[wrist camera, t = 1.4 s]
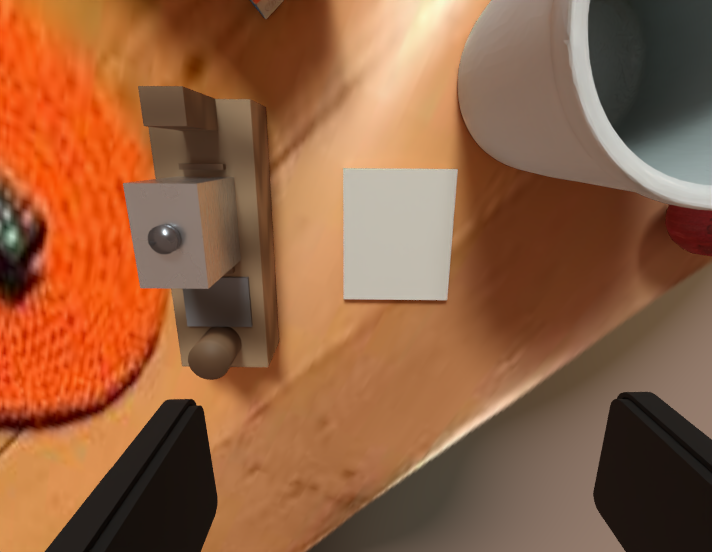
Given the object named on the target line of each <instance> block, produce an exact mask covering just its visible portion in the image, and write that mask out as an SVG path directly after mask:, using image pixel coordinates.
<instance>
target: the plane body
mask: <svg viewBox="0 0 712 552" xmlns="http://www.w3.org/2000/svg"><path fill="white" fill-rule="evenodd" d="M138 89H139V96H140V103H141V110H142V117H143V124H144V126H148V127H149V134H150V141H151V148H152V155H153V163H154V170H155V177H156V179H161V178H169V177H234V185H235V197H236V209H237V221H238V233H239V244H240V256H241V260H240V261H239V262H238V263H237V264H236V265H235V266H234V267H232V268H231V269H230V270H229V271H228V272H227V273H226V274H225V275H223V276H222V277H221V278H220V279H219V280H218V281H217V282H216V283H214V284H213V285H212V286H211V287H210V288H209V289H183V288H171V290H172V297H173V304H174V311H175V318H176V325H177V332H178V339H179V347H180V354H181V361H182V366H190V368H191V370H192V371H193V372H194V373H195V374H196V375H198V376H199V377H201V378H204V379H210V380H213V379H218V378H220V377H222V376H223V375H225V374H226V372H227V371H228V369H229V368H230V367H268V366H269V364H270V362H271V360H272V357H273V355H274V353H275V350H276V348H277V346H278V343H279V331H278V314H277V296H276V279H275V261H274V244H273V226H272V208H271V191H270V173H269V156H268V138H267V121H266V107H265V106H263V105H261V104H259V103H257V102H255V101H253V100H251V99H214V98H211V97H209V96H206V95H203V94H201V93H198V92H196V91H193V90H190V89H188V88H185V87H183V86H138Z"/></svg>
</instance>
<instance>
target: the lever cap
mask: <svg viewBox="0 0 712 552" xmlns="http://www.w3.org/2000/svg"><path fill="white" fill-rule="evenodd" d="M123 186H124V192H125V198H126V204H127V210H128V216H129V222H130V228H131V234H132V240H133V246H134V252H135V258H136V264H137V270H138V276H139V282H140V288H183V289H209V288H210V287H211V286H212V285H213V284H214V283H216V282H217V281H218V280H219V279H220V278H221V277H222V276H223V275H225V274H226V273H227V272H228V271H229V270H230V269H231V268H232V267H234V266H235V265H236V264H237V263H238V262H239V261H240V260H241V256H240V244H239V233H238V221H237V209H236V197H235V185H234V177H169V178H161V179H153V180H145V181H137V182H128V183H123Z"/></svg>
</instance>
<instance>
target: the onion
mask: <svg viewBox="0 0 712 552" xmlns="http://www.w3.org/2000/svg"><path fill="white" fill-rule="evenodd" d="M665 224H666V227H667V230H668V233H669V236H670V237H671V239H672V240H673V241H674V242H675V243H676V244H678V245H679V246H680V247H681V248H683V249H685V250H687V251H689V252H690V253H695V254H700V255H707V256H712V211H711V210H698V209H691V208H685V207H680V206H675V205H669V207H668V209H667V212H666V220H665Z"/></svg>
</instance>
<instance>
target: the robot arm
mask: <svg viewBox="0 0 712 552" xmlns="http://www.w3.org/2000/svg"><path fill="white" fill-rule="evenodd" d="M593 496H594V502H595V505H596V507H597V509H598V511H599V513H600V514H601V516H602V517H603V519H604V520H605V522H606V523H607V524H608V526H609V527H610V529H611V530H612V532H613V533H614V535H615V536H616V538H617V539H618V541H619V542H620V544H621V545H622V547H623V548H624V550H625V551H626V552H712V440H711V439H710V438H709V437H708V436H706V435H705V434H704V433H703V432H701V431H700V430H699V429H697V428H696V427H695V426H694V425H693V424H691V423H690V422H689V421H687V420H686V419H685V418H684V417H683V416H681V415H680V414H679V413H678V412H676V411H675V410H674V409H673V408H671V407H670V406H669V405H668V404H666V403H665V402H664V401H663V400H661V399H660V398H659V397H658V396H656V395H655V394H653V393H651V392H624V393H621V394H619V396H618V397H617V399H615V400H613V401H612V402H611V405H610V410H609V415H608V420H607V425H606V431H605V436H604V441H603V446H602V451H601V456H600V461H599V467H598V472H597V477H596V482H595V487H594V493H593ZM216 509H217V492H216V485H215V479H214V473H213V467H212V460H211V454H210V448H209V441H208V435H207V429H206V422H205V416H204V411H203V408H202V406H196V403H195V401H194V400H192V399H174V400H166V401H165V402H164V403H163V404H162V405H161V406H160V408H159V409H158V410H157V411H156V413H155V414H154V415H153V416H152V418H151V419H150V420H149V421H148V423H147V424H146V425H145V426H144V428H143V429H142V430H141V432H140V433H139V434H138V435H137V437H136V438H135V439H134V440H133V442H132V443H131V444H130V445H129V447H128V448H127V449H126V450H125V452H124V453H123V454H122V456H121V457H120V458H119V459H118V461H117V462H116V463H115V464H114V466H113V467H112V468H111V469H110V470H109V471H108V473H107V474H106V475H105V476H104V478H103V479H102V480H101V481H100V483H99V484H98V485H97V487H96V488H95V489H94V490H93V492H92V493H91V494H90V495H89V497H88V498H87V499H86V500H85V502H84V503H83V504H82V505H81V507H80V508H79V509H78V510H77V512H76V513H75V514H74V515H73V517H72V518H71V519H70V521H69V522H68V523H67V524H66V526H65V527H64V528H63V529H62V531H61V532H60V533H59V534H58V536H57V537H56V538H55V539H54V541H53V542H52V543H51V544H50V546H49V547H48V548H47V550H46V551H45V552H201V549H202V547H203V544H204V542H205V539H206V537H207V534H208V532H209V529H210V527H211V524H212V522H213V519H214V517H215V514H216Z"/></svg>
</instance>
